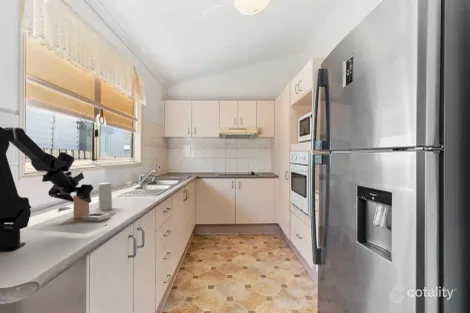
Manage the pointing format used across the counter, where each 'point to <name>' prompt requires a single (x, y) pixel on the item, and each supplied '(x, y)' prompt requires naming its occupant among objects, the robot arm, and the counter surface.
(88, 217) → the steel collar
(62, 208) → the soupspoon
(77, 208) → the terracotta upright block
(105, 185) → the skincare box
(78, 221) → the walnut board
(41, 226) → the counter surface
